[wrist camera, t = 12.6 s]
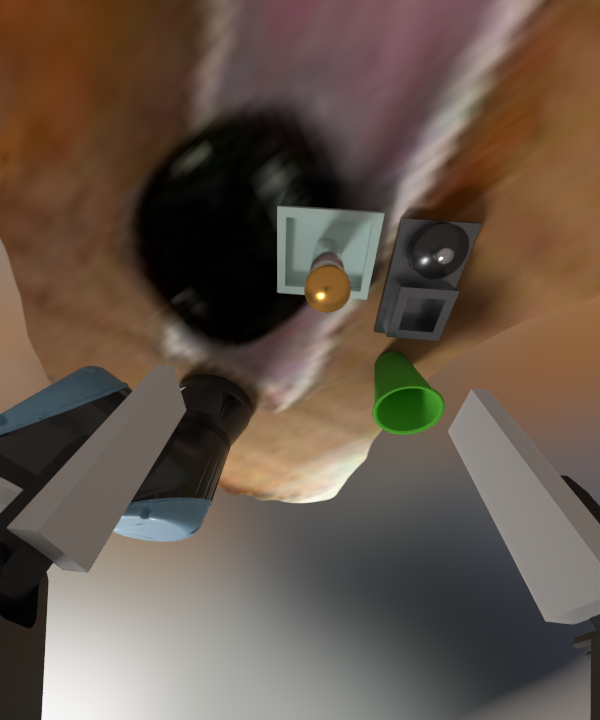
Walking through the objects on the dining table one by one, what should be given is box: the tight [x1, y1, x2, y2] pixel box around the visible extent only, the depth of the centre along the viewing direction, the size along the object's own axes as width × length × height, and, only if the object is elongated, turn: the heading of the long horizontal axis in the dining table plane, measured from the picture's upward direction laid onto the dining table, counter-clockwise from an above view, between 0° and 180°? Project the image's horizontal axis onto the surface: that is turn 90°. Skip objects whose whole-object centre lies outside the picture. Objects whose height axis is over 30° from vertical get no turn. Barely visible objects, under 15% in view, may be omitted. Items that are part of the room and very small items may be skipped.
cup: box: [372, 352, 445, 435], centre depth 38 cm, size 9×9×11 cm
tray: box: [277, 205, 385, 300], centre depth 32 cm, size 12×10×2 cm
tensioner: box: [374, 218, 482, 341], centre depth 33 cm, size 9×15×5 cm, turn 177°
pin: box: [304, 238, 351, 313], centre depth 27 cm, size 4×4×14 cm
